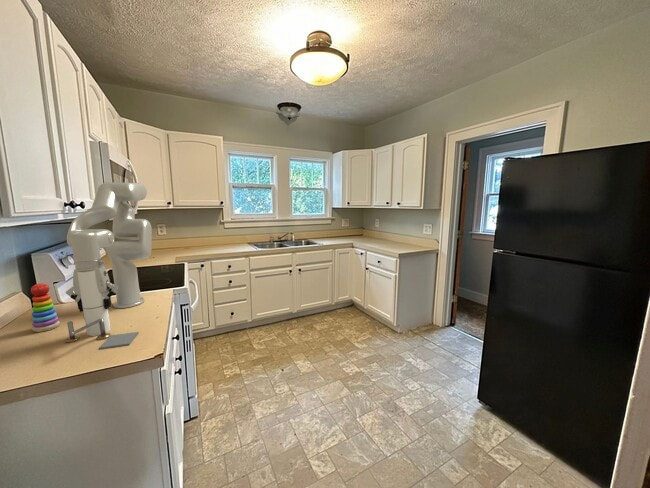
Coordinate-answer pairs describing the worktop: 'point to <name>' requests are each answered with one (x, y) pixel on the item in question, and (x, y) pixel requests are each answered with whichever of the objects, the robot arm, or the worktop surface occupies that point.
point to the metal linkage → (72, 332)
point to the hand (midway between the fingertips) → (95, 308)
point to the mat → (119, 340)
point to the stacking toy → (43, 309)
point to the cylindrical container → (92, 303)
